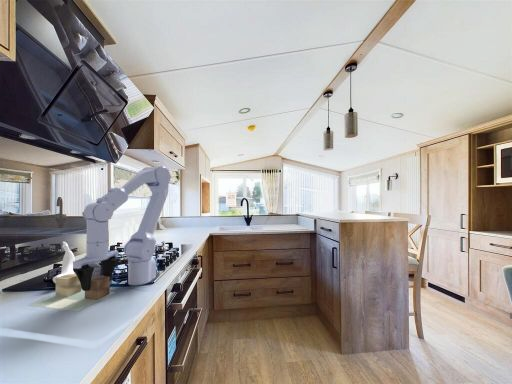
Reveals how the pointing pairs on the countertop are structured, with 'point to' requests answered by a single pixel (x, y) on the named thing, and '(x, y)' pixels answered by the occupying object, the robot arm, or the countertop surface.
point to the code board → (67, 302)
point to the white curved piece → (66, 262)
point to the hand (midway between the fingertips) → (97, 285)
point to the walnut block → (98, 287)
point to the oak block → (67, 285)
